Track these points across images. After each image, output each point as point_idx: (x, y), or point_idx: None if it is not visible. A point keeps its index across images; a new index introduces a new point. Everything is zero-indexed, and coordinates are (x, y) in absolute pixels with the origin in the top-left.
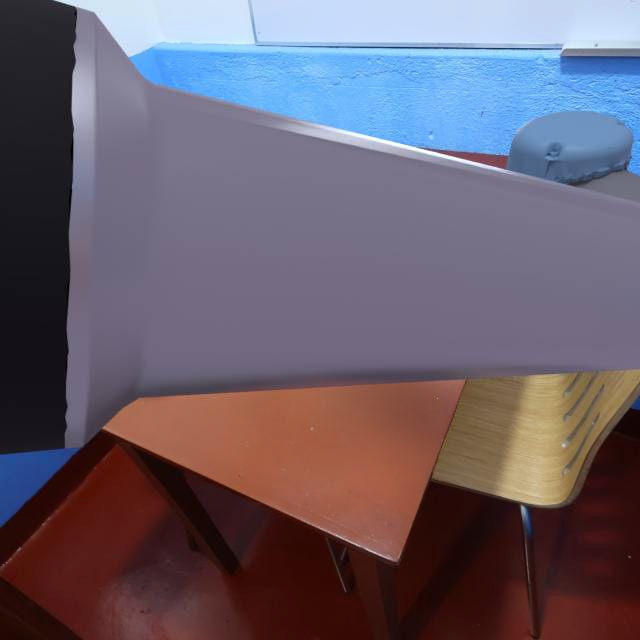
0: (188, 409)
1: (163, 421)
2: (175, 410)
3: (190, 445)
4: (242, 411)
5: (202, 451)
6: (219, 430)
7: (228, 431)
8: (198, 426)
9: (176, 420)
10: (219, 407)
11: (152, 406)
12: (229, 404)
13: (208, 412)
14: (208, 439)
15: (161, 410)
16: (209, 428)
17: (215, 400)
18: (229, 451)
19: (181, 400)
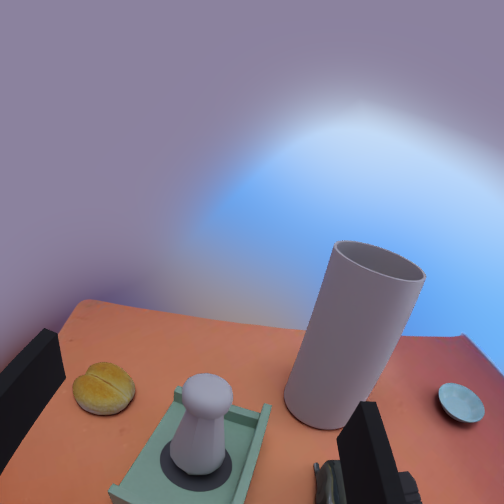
0: (60, 435)
1: (43, 416)
2: (57, 423)
3: (18, 449)
4: (67, 492)
5: (13, 462)
6: (38, 473)
7: (38, 483)
8: (40, 451)
9: (45, 428)
10: (67, 466)
11: (60, 401)
12: (73, 475)
13: (59, 456)
14: (26, 464)
15: (56, 410)
16: (39, 462)
17: (76, 459)
18: (15, 488)
19: (70, 425)
